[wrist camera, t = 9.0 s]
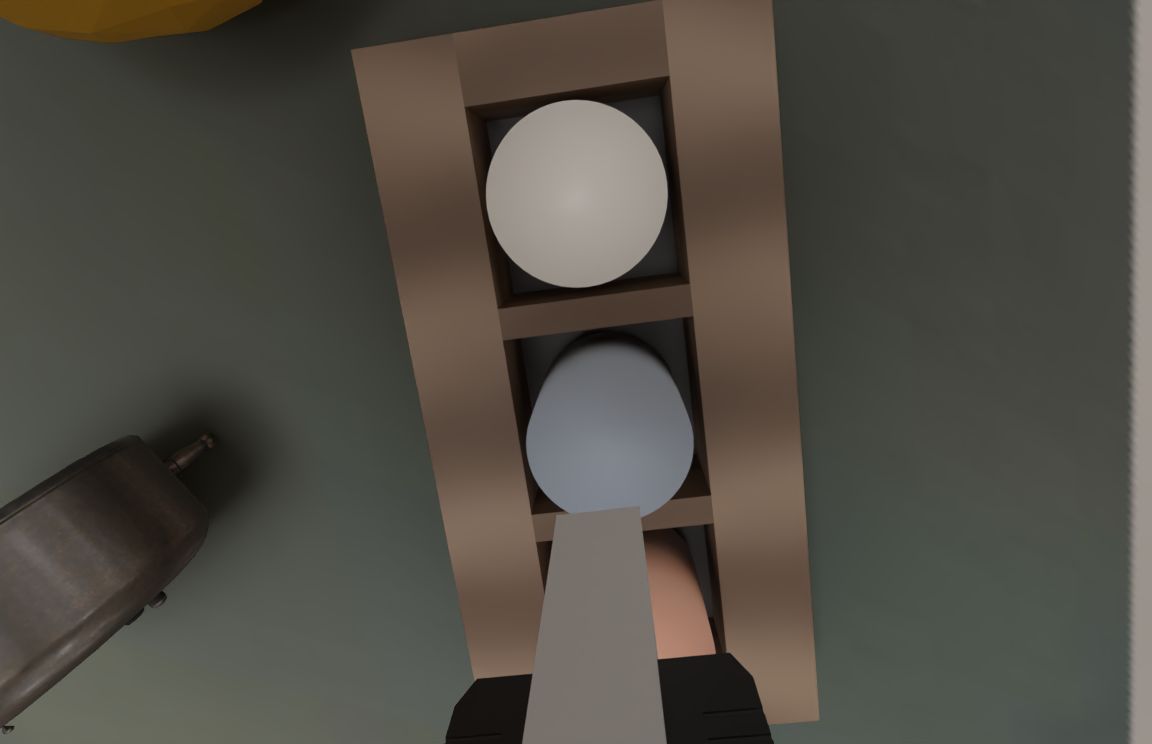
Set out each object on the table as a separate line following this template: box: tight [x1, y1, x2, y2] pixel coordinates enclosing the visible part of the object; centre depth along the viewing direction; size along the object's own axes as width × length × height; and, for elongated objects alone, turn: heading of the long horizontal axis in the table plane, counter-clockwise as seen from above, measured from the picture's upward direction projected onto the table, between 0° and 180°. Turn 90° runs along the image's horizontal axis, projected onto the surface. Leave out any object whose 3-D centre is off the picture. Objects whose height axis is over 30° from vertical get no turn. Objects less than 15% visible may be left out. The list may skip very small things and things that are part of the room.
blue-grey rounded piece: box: [526, 332, 694, 517], centre depth 22 cm, size 5×5×5 cm
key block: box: [351, 0, 819, 725], centre depth 24 cm, size 24×12×4 cm, turn 8°
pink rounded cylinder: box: [642, 528, 716, 659], centre depth 24 cm, size 5×5×5 cm
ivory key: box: [486, 100, 668, 288], centre depth 21 cm, size 5×5×5 cm
